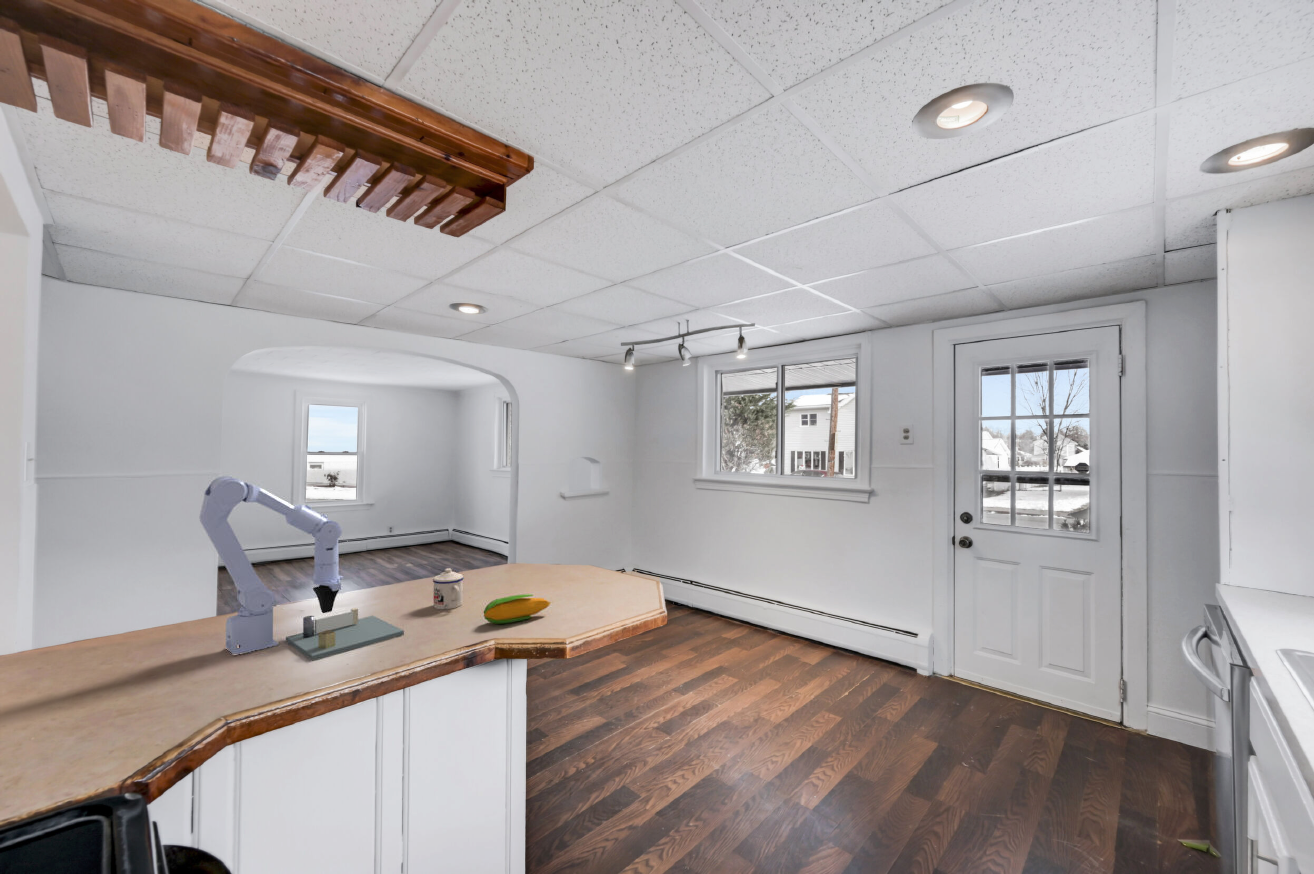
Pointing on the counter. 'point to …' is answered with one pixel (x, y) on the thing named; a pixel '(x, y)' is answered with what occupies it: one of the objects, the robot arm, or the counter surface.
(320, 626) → the gate
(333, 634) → the gate posts
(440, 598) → the teacup with lid
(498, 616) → the corn
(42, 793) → the counter surface
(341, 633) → the base board
